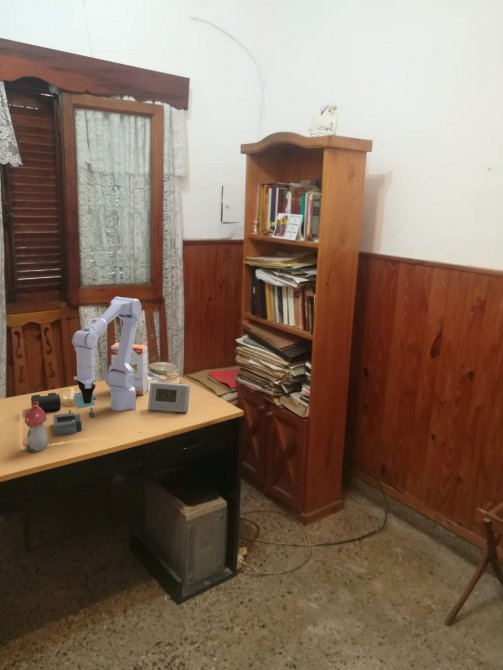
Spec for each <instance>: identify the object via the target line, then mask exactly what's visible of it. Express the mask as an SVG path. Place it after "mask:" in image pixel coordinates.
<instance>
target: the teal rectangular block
mask: <svg viewBox="0 0 503 670" xmlns="http://www.w3.org/2000/svg"><path fill="white" fill-rule="evenodd" d="M73 394H74V396H73V397H74V400H75V401H74V402H75V406H76V409H77V410H80V409H83V408H88V407H93V406H95V401H96V400H97V397H96V395H94V393H93V394H92V399H91V403H88V404H84V401H83V396H82V392H81V391H80V392H76V393H73Z"/></svg>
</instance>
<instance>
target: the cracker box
mask: <svg viewBox="0 0 503 670" xmlns="http://www.w3.org/2000/svg"><path fill="white" fill-rule="evenodd" d="M118 347H119V342H116V343H114V344H113V345H111V346H110V351H111V352H110V354H111V358H110V359H111V360H110V361H111V365H112V364H113V363H115V362H116V357H117V352H118ZM129 365H130V366H131V367H132V368H133V369H134V383H133V385H132V387H134V388H135V392H136V396H144V395H145V394H146V393H147V392H148V391H149V390H148V389H149V388H148V385H149V384H148V381H149V380H148V376H149V375H148V345H146V344H134V343H133V348H132V353H131V358H130V363H129ZM118 371H121V372H125V371H123V370H118ZM147 390H148V391H147Z"/></svg>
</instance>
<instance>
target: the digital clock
mask: <svg viewBox="0 0 503 670" xmlns="http://www.w3.org/2000/svg"><path fill="white" fill-rule="evenodd" d="M149 386H150V387H149V393H148V404H147V408H148V410H150V411H157V412H163V411H168V412H167V413H176V412H179V413H187V412H188V411H189V406H190V405H189V404H190V392H191V391H190V390H191V386H190V384H187V383H186V384H185V383H177V382H165V381H164V382H163V381H161V382H160V381H159V382H157V381H152V382H150V384H149Z"/></svg>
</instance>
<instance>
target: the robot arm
mask: <svg viewBox="0 0 503 670" xmlns="http://www.w3.org/2000/svg"><path fill="white" fill-rule="evenodd" d="M109 305H110V306H109V307H107V309H106V310H105V311H104V312H103V314H101V316H100V317H93V318H92V319H91V321H90V322H89V323H88V324H87V325H86V326H84V327H83V329H82V330H81V329H80V330H77V331H75V332H74V334H73V335H72V339H71V343H72V345H73V347H74V351H75V353H76V372H77V373H76V376H73V380H74V381H76V383H77V385H78V388H79V390H80V392H82V396H83V401H84V404H88V403H91V399H92V394H93V395H94V390H95V388H96V383H94V381H95V379H96V375H95V358H94V357H95V355H94V347H96V345H97V344H98V343H97V342H98V340H99V338H100V337H101V336H102V335H103V334H104V333H105V332H106V331H107V329H108V325H109V323H111V322H112V321H114V319H116V318H117V317H118V318H119V319H120V320H121V321H122V322H123V323H122V327H121V332H120V339H119V341H118V343H119V347H118V352H117V357H116V362H115V363H113V364H112V363H111V364H110V365H109V367H108V370H107V371H106V374H105V377H104V381H105V383H106V385H107V386H108V388H109V389H110V409H111V410H112V411H115V412H119V411H120V412H121V411H127V410H135V412H137V399H136V398H137V395H136V392H135V388H134V387H132V385H133V383H134V369H133V368H132V367H131V366H130V365H129V363H130V358H131V353H132V348H133V344H134V343H135V337H136V333H137V328H138V324H139V321H140V317H141V313H142V306H143V305H142V304H141V301H140V300H139V299H138V298H131V297H121V296H115V297H114V298H113V299H112V300H111V301H110V304H109ZM118 370H123V371H125V372H121V371H118ZM93 383H94V384H93Z"/></svg>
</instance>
